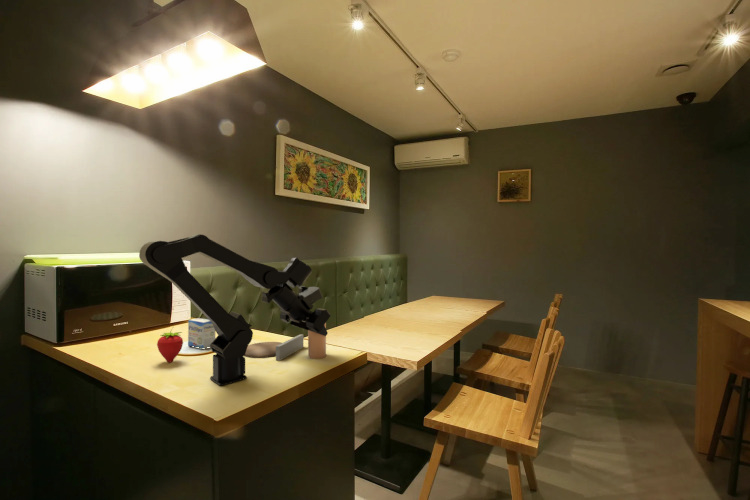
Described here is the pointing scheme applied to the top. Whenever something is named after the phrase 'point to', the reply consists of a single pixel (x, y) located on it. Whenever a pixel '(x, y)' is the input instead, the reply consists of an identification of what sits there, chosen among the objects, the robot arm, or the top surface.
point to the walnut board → (262, 349)
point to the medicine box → (200, 333)
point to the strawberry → (170, 345)
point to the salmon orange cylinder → (316, 345)
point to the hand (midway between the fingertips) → (321, 332)
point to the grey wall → (289, 347)
